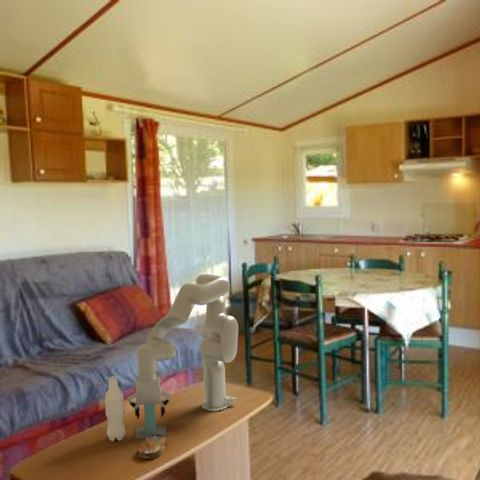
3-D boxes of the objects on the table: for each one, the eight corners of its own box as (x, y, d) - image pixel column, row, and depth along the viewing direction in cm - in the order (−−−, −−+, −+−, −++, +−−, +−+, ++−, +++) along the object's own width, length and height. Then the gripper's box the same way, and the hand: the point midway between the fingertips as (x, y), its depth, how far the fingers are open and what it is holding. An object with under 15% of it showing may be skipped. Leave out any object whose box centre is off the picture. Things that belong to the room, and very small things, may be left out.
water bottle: (119, 432, 215) (116, 372, 213) (129, 438, 210) (125, 377, 208) (103, 438, 210) (100, 377, 208) (113, 444, 205) (109, 382, 203)
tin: (149, 433, 208) (169, 433, 206) (150, 441, 208) (170, 441, 206) (134, 452, 193) (156, 452, 191) (135, 460, 193) (157, 460, 191)
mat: (166, 427, 219) (166, 425, 219) (165, 437, 210) (165, 435, 210) (137, 429, 218) (137, 427, 218) (134, 439, 209) (134, 438, 209)
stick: (155, 433, 212) (153, 399, 211) (145, 434, 212) (143, 400, 210) (156, 429, 216) (154, 396, 215) (146, 429, 216) (144, 396, 214)
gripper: (170, 370, 216) (172, 411, 218) (127, 373, 215) (129, 414, 216) (169, 377, 208) (171, 419, 210) (124, 380, 207) (127, 422, 209)
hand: (150, 416), depth 213 cm, fingers open, 9 cm apart
